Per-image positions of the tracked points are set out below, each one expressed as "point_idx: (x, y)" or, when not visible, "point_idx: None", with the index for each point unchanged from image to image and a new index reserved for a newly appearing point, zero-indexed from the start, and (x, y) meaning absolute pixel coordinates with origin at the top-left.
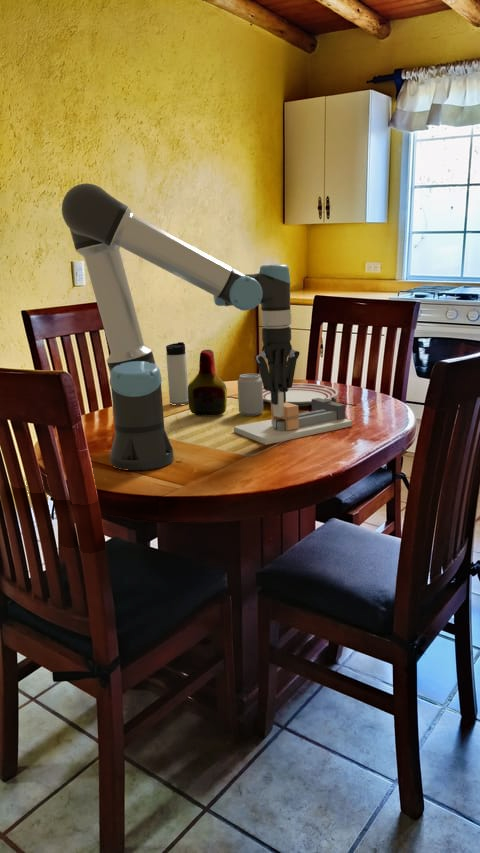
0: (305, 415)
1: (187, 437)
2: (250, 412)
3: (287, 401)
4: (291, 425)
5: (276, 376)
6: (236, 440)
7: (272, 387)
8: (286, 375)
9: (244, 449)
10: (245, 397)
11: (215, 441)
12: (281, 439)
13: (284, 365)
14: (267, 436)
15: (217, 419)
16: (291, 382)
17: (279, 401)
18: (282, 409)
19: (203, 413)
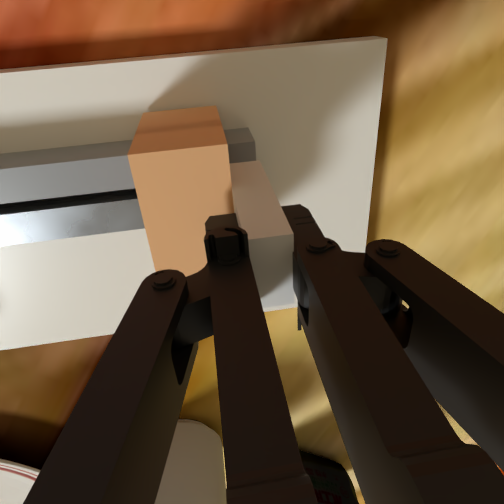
0: (52, 206)
1: (501, 296)
2: (198, 427)
3: (8, 499)
4: (193, 113)
5: (365, 339)
6: (418, 180)
7: (376, 259)
8: (170, 403)
9: (491, 26)
10: (214, 487)
11: (479, 210)
12: (283, 45)
13: (273, 481)
14: (350, 80)
15: (305, 420)
16: (145, 304)
17: (274, 200)
18: (242, 178)
19: (326, 460)
